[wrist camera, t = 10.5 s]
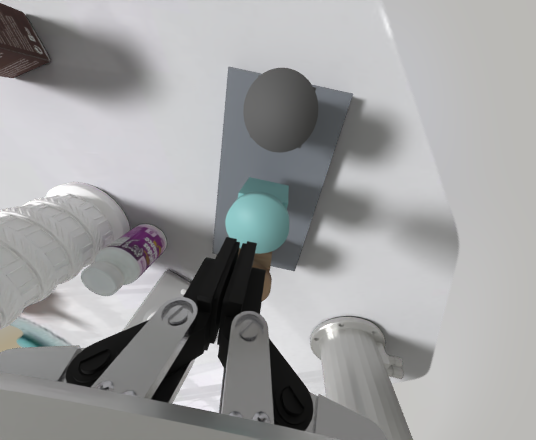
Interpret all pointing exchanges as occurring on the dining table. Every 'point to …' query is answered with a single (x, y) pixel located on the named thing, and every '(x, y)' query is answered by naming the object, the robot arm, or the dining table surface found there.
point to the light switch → (159, 297)
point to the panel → (277, 163)
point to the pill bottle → (124, 260)
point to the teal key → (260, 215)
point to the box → (18, 44)
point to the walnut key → (264, 263)
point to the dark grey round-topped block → (280, 110)
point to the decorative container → (53, 242)
